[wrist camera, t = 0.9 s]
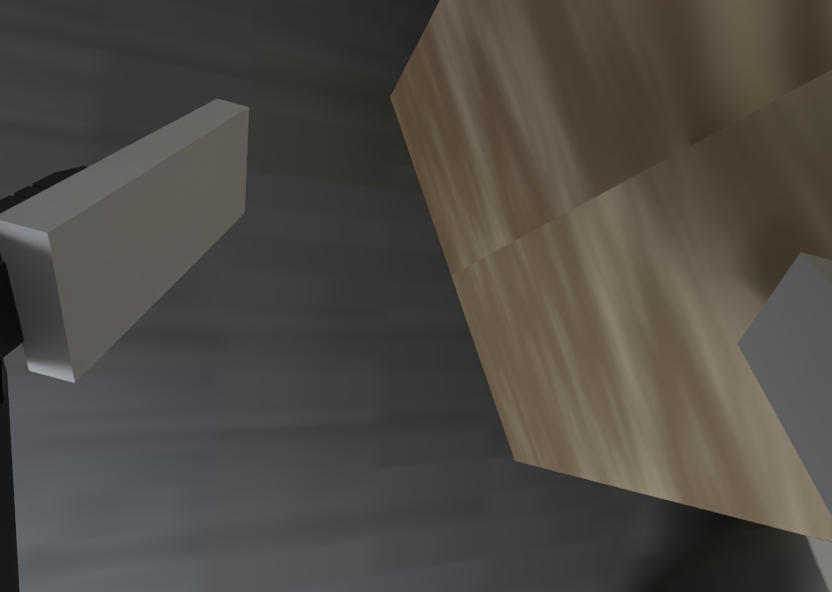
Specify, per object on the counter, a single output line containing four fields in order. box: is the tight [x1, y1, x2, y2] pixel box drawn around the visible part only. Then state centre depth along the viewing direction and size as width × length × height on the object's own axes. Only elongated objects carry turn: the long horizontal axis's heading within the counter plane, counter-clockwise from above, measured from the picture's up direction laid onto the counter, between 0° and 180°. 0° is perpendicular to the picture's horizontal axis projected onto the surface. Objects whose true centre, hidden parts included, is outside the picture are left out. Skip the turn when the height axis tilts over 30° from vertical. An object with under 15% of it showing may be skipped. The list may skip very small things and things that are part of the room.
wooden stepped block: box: [390, 0, 832, 542], centre depth 23 cm, size 17×24×30 cm
